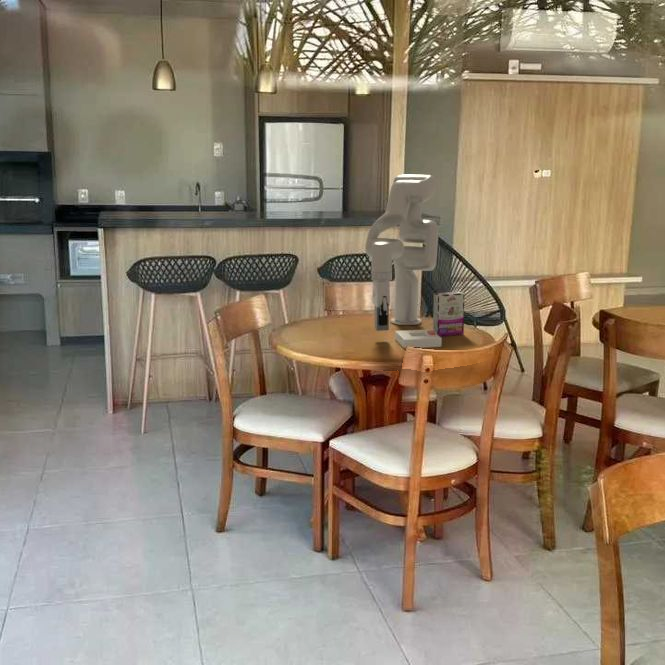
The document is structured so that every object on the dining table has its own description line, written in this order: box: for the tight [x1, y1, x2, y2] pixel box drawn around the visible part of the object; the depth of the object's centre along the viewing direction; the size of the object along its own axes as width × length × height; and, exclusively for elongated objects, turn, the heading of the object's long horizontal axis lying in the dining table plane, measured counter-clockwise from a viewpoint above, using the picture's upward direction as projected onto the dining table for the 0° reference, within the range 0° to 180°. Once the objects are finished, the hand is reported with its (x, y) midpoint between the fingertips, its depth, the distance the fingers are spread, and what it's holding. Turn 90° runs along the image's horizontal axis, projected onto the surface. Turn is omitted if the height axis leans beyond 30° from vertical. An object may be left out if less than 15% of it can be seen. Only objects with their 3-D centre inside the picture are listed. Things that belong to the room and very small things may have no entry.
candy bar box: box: [432, 291, 465, 337], centre depth 295 cm, size 11×5×16 cm, turn 106°
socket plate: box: [394, 328, 443, 349], centre depth 284 cm, size 14×14×4 cm
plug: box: [374, 305, 390, 332], centre depth 286 cm, size 4×4×11 cm
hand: (381, 323), depth 287 cm, fingers closed on plug, 4 cm apart
